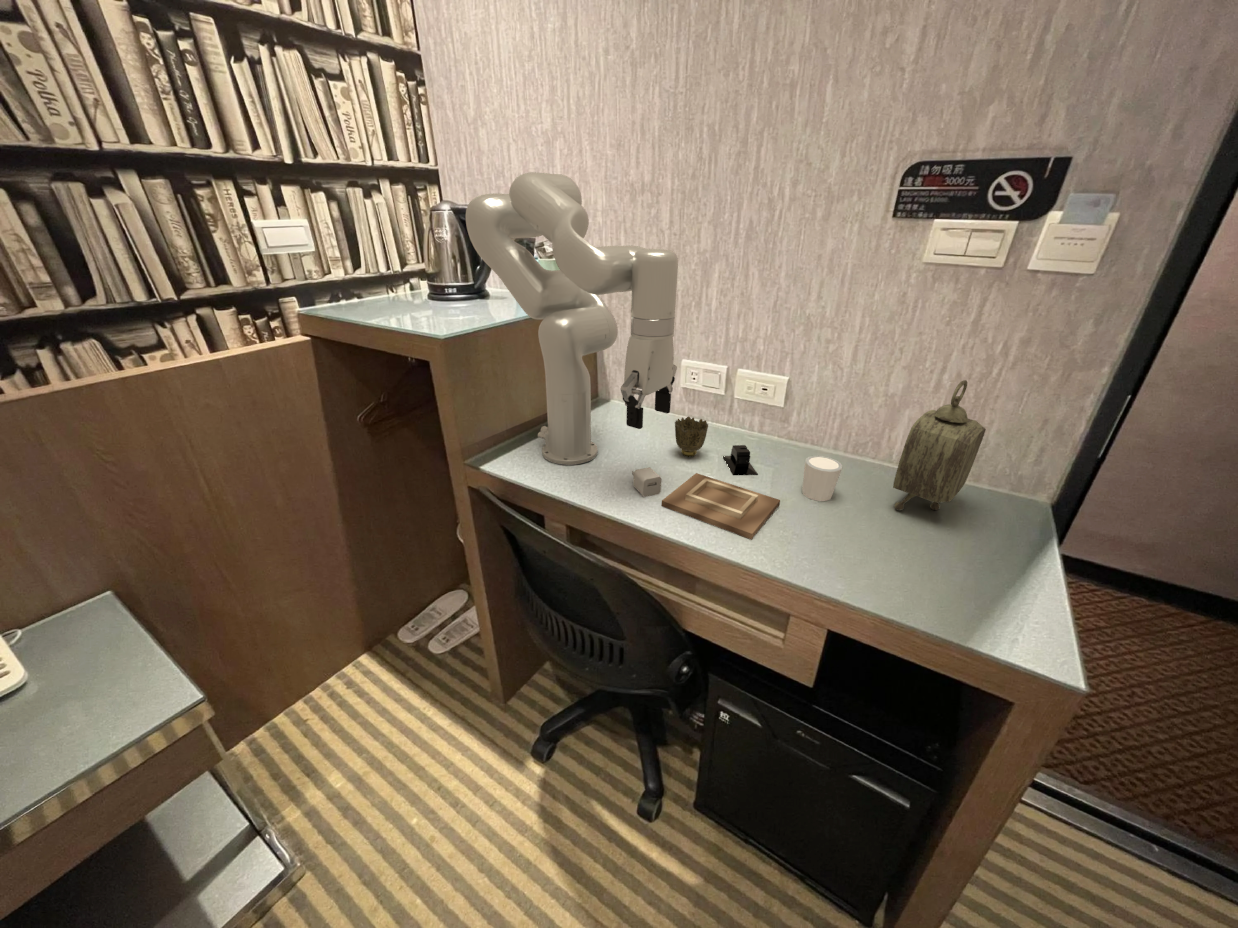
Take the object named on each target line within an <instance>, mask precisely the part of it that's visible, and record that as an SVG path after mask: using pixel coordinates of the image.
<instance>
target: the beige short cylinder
mask: <svg viewBox="0 0 1238 928" xmlns="http://www.w3.org/2000/svg"><path fill="white" fill-rule="evenodd" d="M842 470H843V464H842V463H841V462H840V461H839V460H838V459H837V460H836V459H834V458H832V457H829V456H824V455H811V456H807V458H805V460H804V471H803V478H802V479H803V480H802V489H801V492H802V494H803V495H804V497H806V498H808V499H809V500H813V501H816V502H817V501H818V502H826V501H830V500H831V499H832V497H833V495H834V491H835V489H836V486H837V484H838V481H839V478H840V476H841V473H842Z"/></svg>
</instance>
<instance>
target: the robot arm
mask: <svg viewBox="0 0 1238 928" xmlns="http://www.w3.org/2000/svg"><path fill="white" fill-rule="evenodd" d="M582 200H583V199H582V194H581V190H580V188H579V186H578V185H577V183H576V182H575V181H574V179H572V177H569V176H567V175H565V174H558V173H545V172H536V171H535V172H525V173H522V174H520V175H518V176H517V177H516V178H515V179H514V180H513V181H512V183H511V185H510V187H509V192H508V193H485V194H481V195H479V196H476V197H474V198H473V199H472V200H470V201H469V203H468V205H467V206H466V209H465V224H466V230H467V233H468V237H469V241H470V242H471V244H472V246H473V248H474V250H475V251H476V254H477V255H478V256H479V257H480V258H481V259H482V261H483V262H484V263H485V264H486V265H487V266H488V267H489V268H490V269H491V270H492V271H493V272H494V273H495V274H496V276H498V278H499V279H500V281H501V282H502V283H503V285H504V287H506V289H507V291H509V293H510V294H511V295H512V297H513V298H514V300H515V301H516V303H517V304H518V305H519V307H520V308H521V309H522V311H523V312H524V313H525V314H526V315H527V316H528V317H529V318H531V319H533V320H541V322H540V324H539V326H538V332H537V333H538V335H537V337H538V342H539V346H540V350H541V355H542V359H543V365H544V374H545V375H544V377H545V391H546V413H547V416H546V417H547V426H546V425H544V426H543V425H542V426H541V428H540V431H539V432H538V433H537V438H540V439H543V440H544V442H545V443H544V445H543V447H542V448H541V452H542V453H541V454H542V457H543V458H544V459H545V460H546V461H549V462H550V463H554V464H556V465H567V466H568V465H569V466H571V465H581V464H584V463H588V462H590V461H592V460H593V459H595V458H596V457H597V455H598V453H599V452H598V446H597V444H596V443H594V442H593V441H592V426H591V425H592V420H591V419H592V417H591V416H592V415H591V413H592V411H591V409H592V403H591V402H592V400H591V399H592V397H591V395H592V394H591V393H592V391H591V388H592V387H591V375H590V373H589V369H588V368H587V366H586V364H585V362H584V360H583V356H586V355H591V354H594V353H598V352H601V351H604V350H607V349H609V348H611V347H612V346H614V344H615V343H616V340H617V338H618V324H617V320H616V319H615V316H614V314H613V312H612V311H611V310H610V309H609V307H608V306H607V304H606V303H605V302H604V300H603V299H602V298H601V295H608V294H613V293H625V292H631V299H630V300H631V302H630V303H631V305H630V306H631V310H630V315H631V316H630V336H629V338H628V342H627V347H626V354H625V363H624V364H625V365H624V376H623V377H624V378H623V384H622V385H621V386H620V393H621V395H622V401H623V403H624V405H625V406H626V426H627V427H630V428H634V429H638V430H641V429H642V428H644V427H643V424H644V407H642V405H643V403H644V400H645V397H646V396H649V395H651V394H653V393H655V395H654V397H655V398H654V410H655V411H656V412H658V413H659V412H660V413H663V414H669V413H671V404H672V403H671V401H672V393H673V391H674V388H673V385H674V383H675V380H676V378H675V376H676V373H677V369H678V367H677V365H676V364H675V363H674V362H675V361H674V355H675V354H674V353H675V352H674V347H675V346H674V336H675V323H676V322H675V321H676V306H677V305H676V304H677V289H678V287H677V286H678V272H679V271H678V270H679V269H678V268H679V258H678V255H677V253H676V252H675V251H674V250H673V251H672V250H670V249H663V248H662V249H661V248H652V249H651V248H644V247H642V246H637V245H608V246H607V245H606V246H595V245H593V244H592V243H591V242H588V240H586V239H584V238H585V237H586V235H587V232H588V228H589V224H590V223H589V215H588V212H587V210H586V208H584V206H582V202H583V201H582ZM541 236H543V238H545V239H546V240H547V241H549V242H550V243H551V248H552V253H553V258H554V260H555V262H556V265H557V267H558V269H556V270H549V269H546V268H545V267H543V266H542V265H541V264H540V263H539V262H538V261H537V259H536V257H534V255H533V254H532V253H531V252H530V251H529V250H528V249H527V248H526V247H524V246H523V245H522V244H519V243H518V242H516V241H515V240H513V239H533V238H538V237H541ZM635 395H637V396H638V397H637V398H636V397H635Z"/></svg>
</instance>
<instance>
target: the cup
mask: <svg viewBox="0 0 1238 928" xmlns="http://www.w3.org/2000/svg"><path fill="white" fill-rule="evenodd" d="M708 429H709V423H708V421H707V420H703V419H702V418H700V419H699V420H695V417H694V416H693V417H692V418H691V417H690V416H687V417H686V418H685V419H684V417H681V419H679V418H677V419H676V420H675V421H674V432H675V433H674V435H675V442H676V446H677V447H678V448H679V449H681V450H680V454H681V455H682V456H683V457H685V458H694V457H696V455H697V453H698V451H699V450H700V449H702V447H703V446H704V444H705V442H706V441H705V440H706V437H707V433H708Z"/></svg>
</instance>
